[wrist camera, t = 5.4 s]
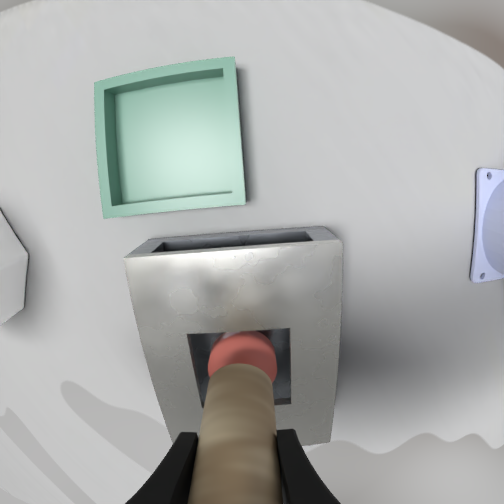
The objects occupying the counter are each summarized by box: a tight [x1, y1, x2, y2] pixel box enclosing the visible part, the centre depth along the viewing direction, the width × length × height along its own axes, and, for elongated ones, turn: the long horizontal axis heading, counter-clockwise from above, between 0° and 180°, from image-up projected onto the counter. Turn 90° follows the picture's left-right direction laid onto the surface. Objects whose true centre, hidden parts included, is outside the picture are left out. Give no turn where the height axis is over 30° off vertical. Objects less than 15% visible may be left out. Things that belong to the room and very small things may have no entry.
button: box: [208, 331, 277, 383], centre depth 16 cm, size 4×4×1 cm
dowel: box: [188, 363, 283, 504], centre depth 9 cm, size 3×3×9 cm
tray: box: [94, 57, 246, 219], centre depth 15 cm, size 8×8×2 cm
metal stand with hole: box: [123, 226, 343, 446], centre depth 17 cm, size 10×13×4 cm
